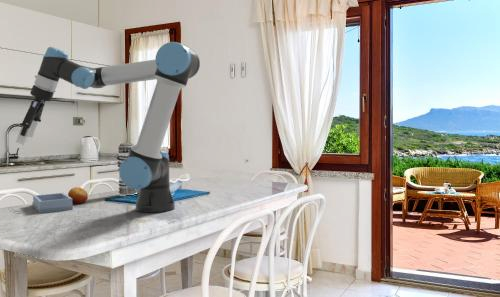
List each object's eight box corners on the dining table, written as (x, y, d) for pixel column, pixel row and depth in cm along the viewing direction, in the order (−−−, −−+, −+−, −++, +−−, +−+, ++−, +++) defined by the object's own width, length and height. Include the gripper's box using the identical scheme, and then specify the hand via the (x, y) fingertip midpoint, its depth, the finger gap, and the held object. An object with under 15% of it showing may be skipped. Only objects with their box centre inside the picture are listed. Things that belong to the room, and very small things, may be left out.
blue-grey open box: (62, 202, 197) (61, 192, 196) (72, 209, 178) (72, 198, 178) (32, 205, 190) (32, 194, 190) (40, 213, 172) (39, 201, 171)
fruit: (73, 198, 198) (80, 183, 196) (86, 207, 196) (93, 192, 194) (60, 201, 191) (67, 185, 189) (73, 211, 189) (80, 195, 187)
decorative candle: (114, 196, 211) (112, 143, 209) (125, 193, 220) (123, 143, 218) (130, 196, 208) (128, 143, 207) (141, 193, 217) (139, 142, 215)
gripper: (40, 81, 176) (22, 129, 178) (25, 87, 152) (4, 142, 155) (59, 88, 178) (41, 136, 181) (47, 95, 155) (26, 150, 157)
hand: (24, 139), depth 168 cm, fingers open, 13 cm apart
